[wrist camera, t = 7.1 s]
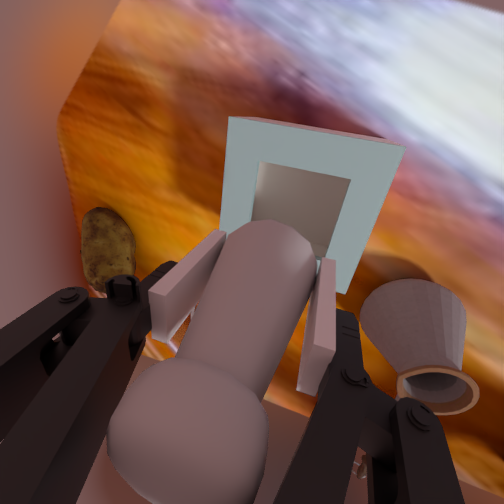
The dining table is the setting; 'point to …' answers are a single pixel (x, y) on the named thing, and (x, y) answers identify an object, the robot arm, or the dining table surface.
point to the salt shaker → (217, 377)
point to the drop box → (308, 184)
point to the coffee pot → (421, 344)
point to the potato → (106, 247)
